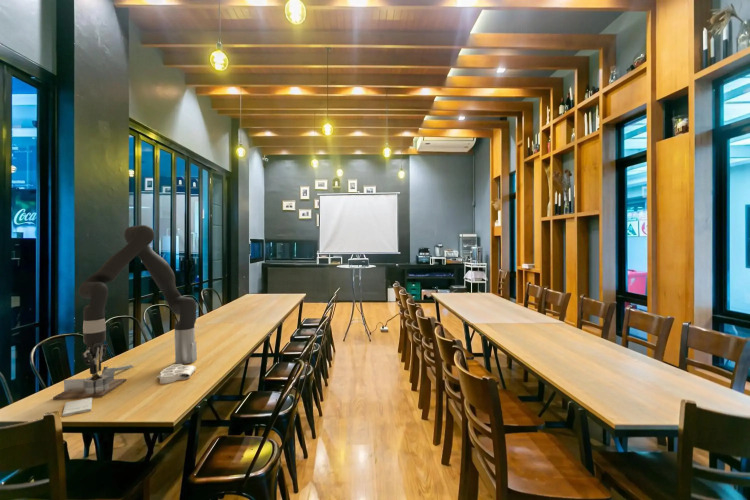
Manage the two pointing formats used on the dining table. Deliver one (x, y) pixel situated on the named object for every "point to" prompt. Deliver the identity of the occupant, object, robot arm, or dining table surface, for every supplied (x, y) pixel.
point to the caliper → (116, 368)
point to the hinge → (90, 383)
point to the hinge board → (81, 394)
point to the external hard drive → (77, 406)
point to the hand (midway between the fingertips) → (95, 372)
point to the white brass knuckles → (176, 373)
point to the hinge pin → (96, 376)
